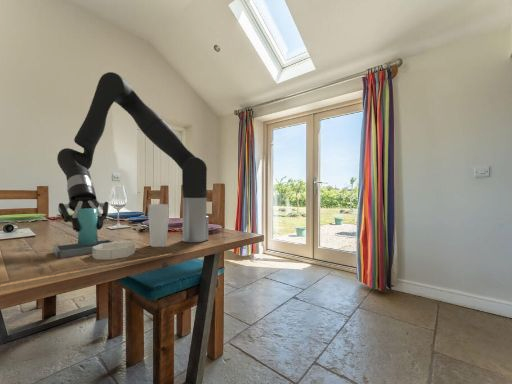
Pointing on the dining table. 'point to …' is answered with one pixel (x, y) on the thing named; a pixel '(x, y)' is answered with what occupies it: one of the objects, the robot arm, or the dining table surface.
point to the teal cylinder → (88, 226)
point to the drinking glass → (158, 224)
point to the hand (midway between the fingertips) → (89, 228)
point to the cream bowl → (113, 250)
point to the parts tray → (75, 249)
